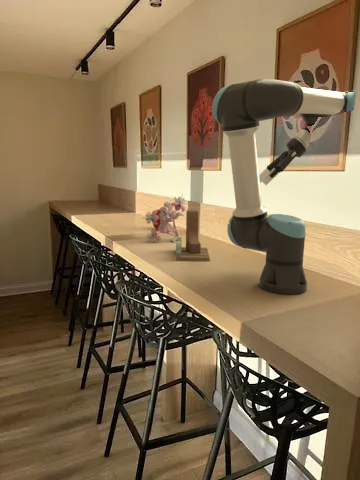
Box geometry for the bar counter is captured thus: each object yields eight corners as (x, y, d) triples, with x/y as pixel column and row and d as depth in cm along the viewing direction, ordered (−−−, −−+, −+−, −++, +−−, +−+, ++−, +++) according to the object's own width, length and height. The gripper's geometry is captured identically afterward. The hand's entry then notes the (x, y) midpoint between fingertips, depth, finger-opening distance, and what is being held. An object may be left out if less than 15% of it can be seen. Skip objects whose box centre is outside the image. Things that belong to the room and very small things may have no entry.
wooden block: (200, 253, 165) (201, 212, 162) (190, 253, 164) (191, 212, 161) (195, 249, 174) (195, 210, 171) (185, 249, 173) (186, 210, 170)
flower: (157, 232, 216) (145, 194, 202) (194, 231, 208) (185, 191, 195) (145, 254, 201) (131, 214, 187) (185, 253, 193) (174, 212, 179)
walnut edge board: (209, 261, 158) (209, 245, 157) (175, 260, 159) (175, 245, 157) (206, 250, 178) (207, 237, 177) (177, 250, 178) (177, 236, 177)
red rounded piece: (151, 228, 239) (150, 206, 236) (166, 228, 240) (166, 206, 238) (152, 231, 229) (152, 208, 226) (169, 231, 230) (169, 208, 228)
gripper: (317, 149, 138) (273, 190, 141) (297, 152, 163) (260, 187, 166) (303, 134, 137) (259, 176, 140) (285, 139, 162) (248, 174, 165)
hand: (260, 182), depth 153 cm, fingers open, 13 cm apart
